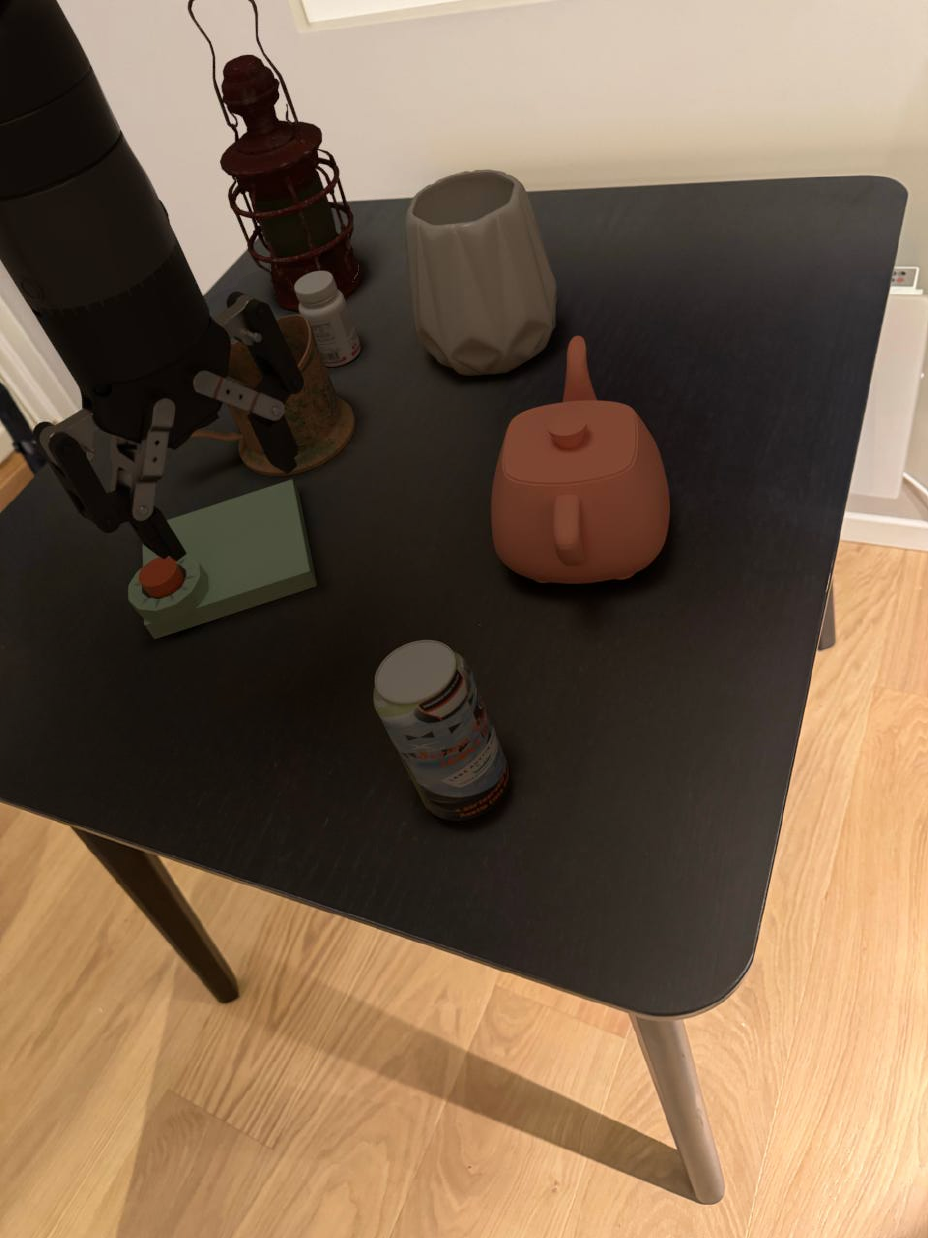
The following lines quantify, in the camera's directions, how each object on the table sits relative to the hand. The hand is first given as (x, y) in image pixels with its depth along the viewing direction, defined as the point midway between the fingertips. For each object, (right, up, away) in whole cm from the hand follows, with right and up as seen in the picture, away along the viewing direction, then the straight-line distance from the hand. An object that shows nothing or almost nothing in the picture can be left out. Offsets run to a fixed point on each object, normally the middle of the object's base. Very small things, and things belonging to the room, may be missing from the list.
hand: (230, 508), depth 55 cm
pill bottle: (+1, +21, +42) cm, 47 cm away
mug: (-5, +10, +34) cm, 36 cm away
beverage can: (+14, -18, +7) cm, 23 cm away
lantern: (-3, +32, +52) cm, 61 cm away
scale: (-6, -2, +25) cm, 26 cm away
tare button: (-10, -4, +20) cm, 23 cm away
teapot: (+24, 0, +19) cm, 30 cm away
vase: (+17, +21, +38) cm, 46 cm away
